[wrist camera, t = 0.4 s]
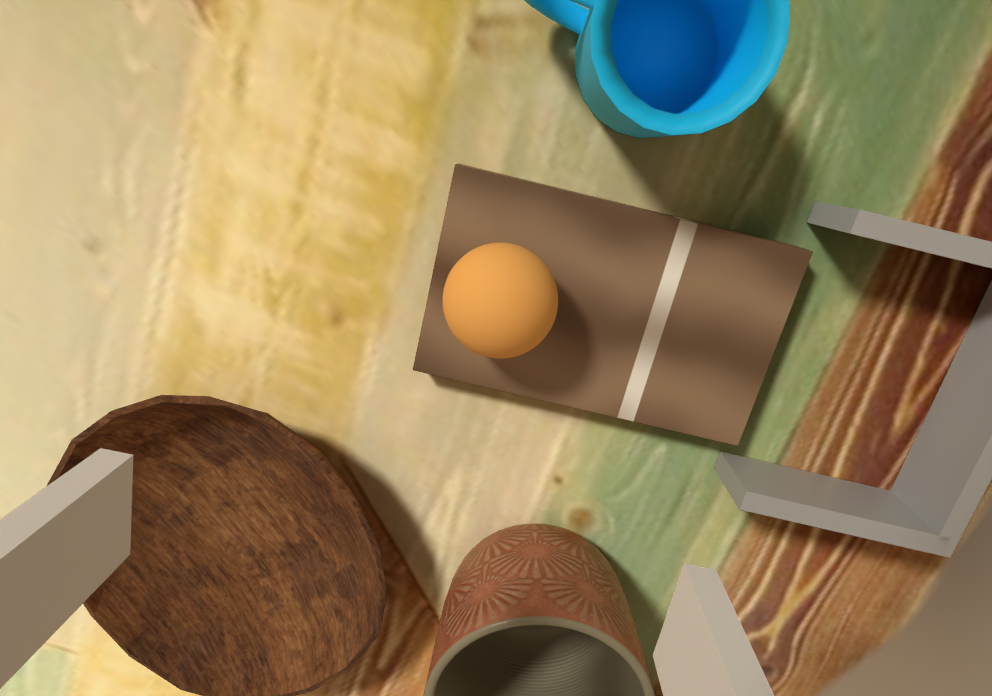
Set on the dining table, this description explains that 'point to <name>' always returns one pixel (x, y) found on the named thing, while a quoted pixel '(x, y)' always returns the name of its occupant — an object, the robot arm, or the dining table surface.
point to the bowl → (234, 551)
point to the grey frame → (936, 450)
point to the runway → (622, 306)
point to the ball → (500, 300)
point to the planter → (537, 622)
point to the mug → (672, 59)
